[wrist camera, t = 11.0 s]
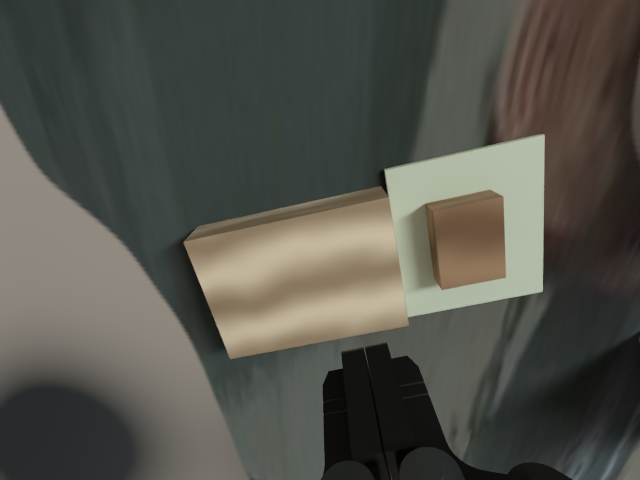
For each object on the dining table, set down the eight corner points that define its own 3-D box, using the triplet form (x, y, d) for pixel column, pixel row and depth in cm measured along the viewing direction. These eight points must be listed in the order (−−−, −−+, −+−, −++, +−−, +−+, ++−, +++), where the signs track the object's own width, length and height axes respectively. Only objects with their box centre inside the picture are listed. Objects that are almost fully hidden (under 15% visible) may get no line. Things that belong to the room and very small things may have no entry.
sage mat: (383, 169, 32) (384, 170, 31) (540, 133, 31) (544, 134, 30) (406, 313, 38) (407, 317, 37) (539, 288, 37) (542, 291, 36)
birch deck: (198, 226, 34) (183, 241, 30) (380, 186, 33) (388, 197, 29) (238, 334, 39) (230, 358, 35) (400, 303, 37) (409, 325, 34)
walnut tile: (503, 196, 30) (490, 189, 32) (432, 211, 30) (424, 203, 33) (506, 277, 33) (493, 265, 35) (441, 290, 33) (433, 277, 36)
